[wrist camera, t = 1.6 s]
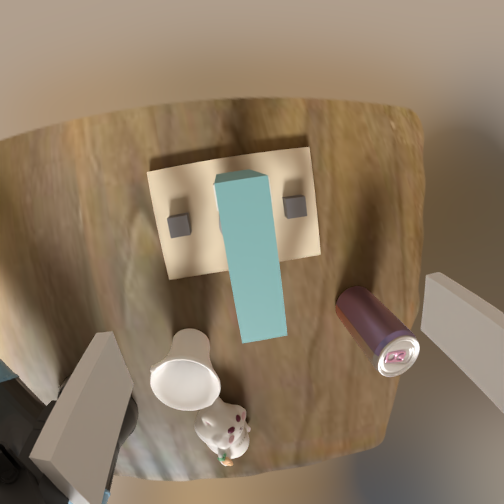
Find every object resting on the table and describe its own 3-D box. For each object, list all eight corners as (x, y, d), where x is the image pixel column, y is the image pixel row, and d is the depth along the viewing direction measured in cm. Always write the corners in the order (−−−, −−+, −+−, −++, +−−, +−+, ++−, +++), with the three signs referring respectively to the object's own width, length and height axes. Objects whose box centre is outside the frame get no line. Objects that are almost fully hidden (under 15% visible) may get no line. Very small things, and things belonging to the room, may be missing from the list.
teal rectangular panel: (232, 276, 34) (241, 343, 22) (215, 173, 31) (212, 183, 18) (263, 271, 34) (288, 334, 22) (249, 168, 31) (269, 174, 19)
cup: (179, 305, 43) (170, 345, 33) (232, 340, 45) (236, 383, 36) (147, 346, 44) (134, 389, 35) (197, 377, 47) (195, 421, 37)
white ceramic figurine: (243, 479, 43) (215, 439, 37) (204, 466, 47) (170, 423, 41) (264, 437, 51) (244, 389, 45) (226, 428, 55) (200, 380, 48)
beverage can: (339, 282, 44) (386, 335, 30) (374, 285, 45) (428, 334, 31) (329, 319, 46) (369, 380, 32) (364, 320, 47) (410, 376, 33)
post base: (170, 275, 42) (162, 299, 34) (149, 171, 37) (134, 174, 30) (317, 251, 43) (336, 269, 36) (306, 147, 39) (324, 145, 31)
